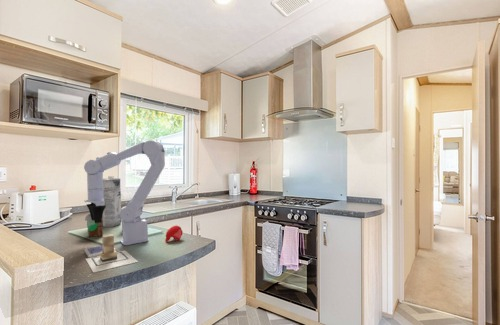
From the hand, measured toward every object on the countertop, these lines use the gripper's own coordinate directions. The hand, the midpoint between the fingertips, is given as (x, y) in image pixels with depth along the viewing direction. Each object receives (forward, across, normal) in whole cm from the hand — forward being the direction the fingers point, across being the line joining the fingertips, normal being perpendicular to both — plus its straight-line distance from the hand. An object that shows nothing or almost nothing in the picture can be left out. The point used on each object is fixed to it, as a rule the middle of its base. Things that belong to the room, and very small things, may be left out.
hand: (96, 221), depth 114 cm
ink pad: (+9, +14, -1) cm, 17 cm away
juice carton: (+10, -36, +12) cm, 39 cm away
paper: (+9, +27, 0) cm, 29 cm away
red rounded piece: (+10, +18, +26) cm, 33 cm away
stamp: (+9, +25, 0) cm, 27 cm away
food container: (+10, -16, +1) cm, 19 cm away
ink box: (+10, -17, +17) cm, 26 cm away
